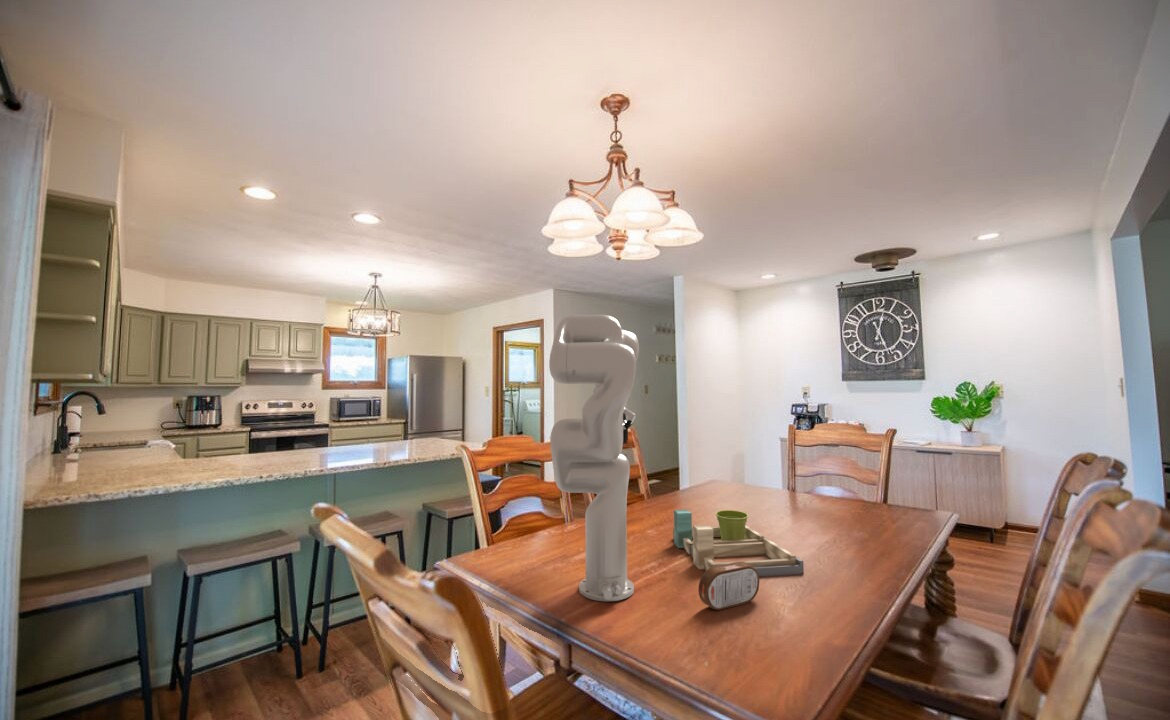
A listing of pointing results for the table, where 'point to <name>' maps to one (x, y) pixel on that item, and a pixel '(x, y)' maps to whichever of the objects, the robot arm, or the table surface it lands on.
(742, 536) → the plant pot
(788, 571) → the rack
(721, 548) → the frame
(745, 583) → the tin
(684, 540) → the pot
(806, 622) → the table surface
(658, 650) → the table surface
